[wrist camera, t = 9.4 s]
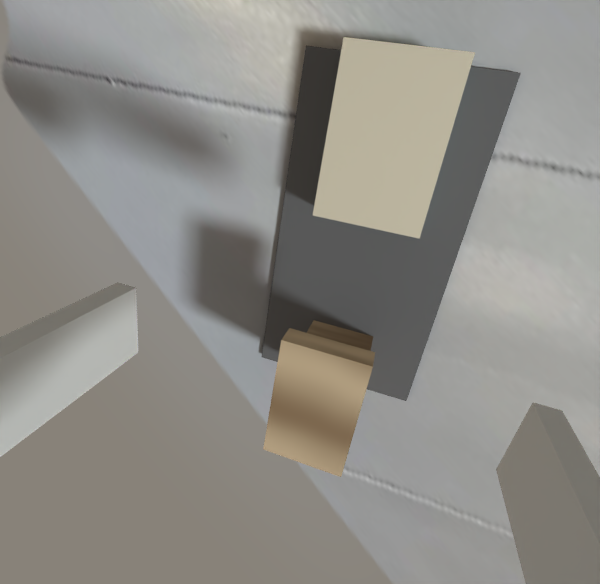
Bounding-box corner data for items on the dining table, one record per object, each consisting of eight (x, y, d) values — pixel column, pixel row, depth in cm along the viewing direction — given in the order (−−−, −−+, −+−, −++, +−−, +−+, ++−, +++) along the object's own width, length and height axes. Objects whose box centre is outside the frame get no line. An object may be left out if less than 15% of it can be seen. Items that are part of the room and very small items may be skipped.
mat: (307, 47, 24) (306, 45, 23) (518, 74, 21) (520, 72, 21) (263, 354, 33) (261, 356, 33) (406, 398, 31) (406, 400, 30)
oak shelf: (322, 279, 29) (281, 340, 19) (384, 295, 28) (372, 366, 19) (305, 362, 32) (263, 449, 23) (361, 379, 31) (340, 477, 22)
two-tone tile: (312, 215, 24) (322, 209, 27) (419, 238, 23) (418, 229, 25) (343, 36, 20) (351, 51, 23) (475, 52, 19) (466, 65, 21)
